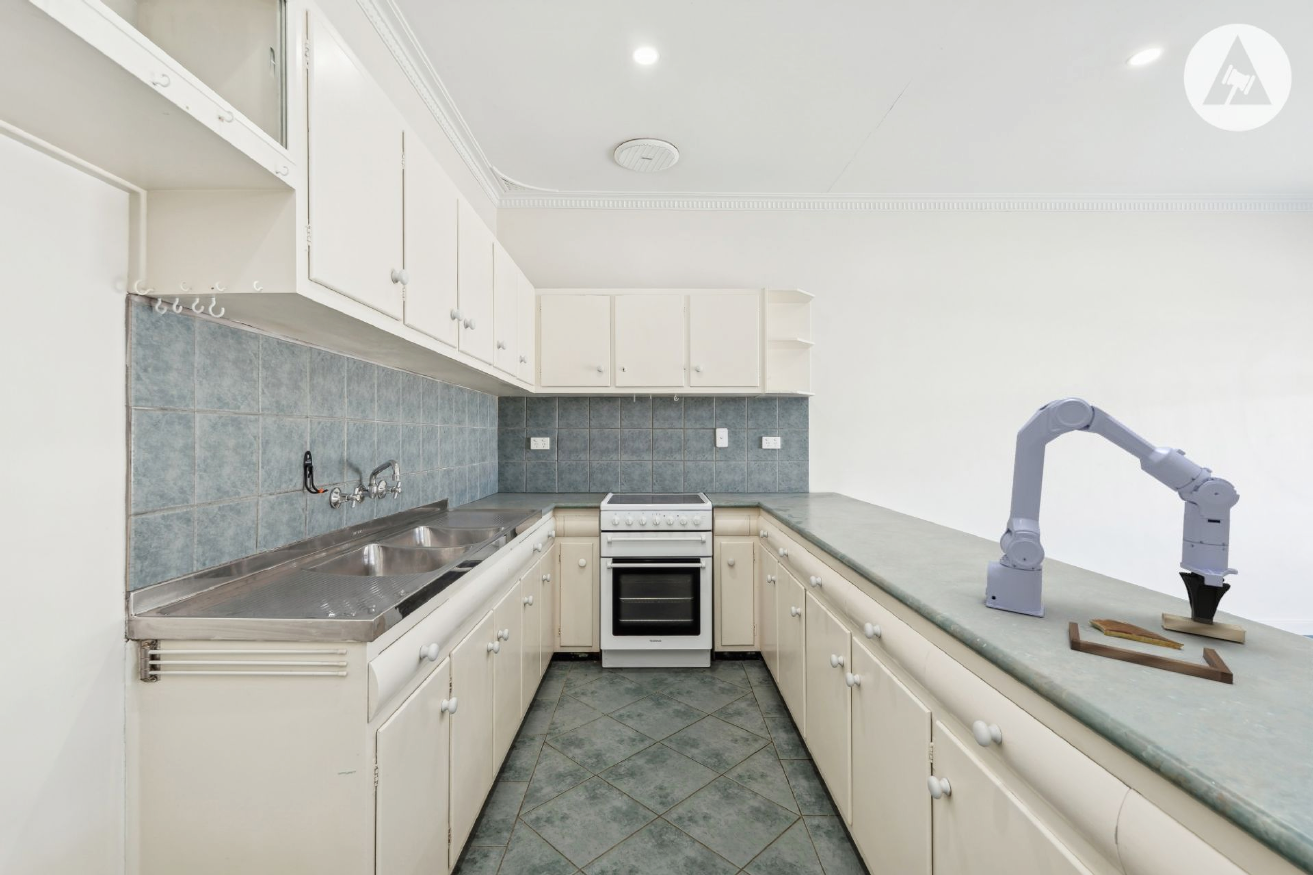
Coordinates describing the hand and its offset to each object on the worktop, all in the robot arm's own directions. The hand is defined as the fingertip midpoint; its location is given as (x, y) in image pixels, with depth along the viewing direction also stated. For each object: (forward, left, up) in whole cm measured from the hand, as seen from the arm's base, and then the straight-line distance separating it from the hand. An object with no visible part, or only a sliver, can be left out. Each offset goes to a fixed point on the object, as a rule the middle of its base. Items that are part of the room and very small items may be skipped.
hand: (1202, 615), depth 93 cm
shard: (-10, -8, -4) cm, 13 cm away
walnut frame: (-10, -18, -3) cm, 21 cm away
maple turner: (0, 0, -3) cm, 3 cm away
